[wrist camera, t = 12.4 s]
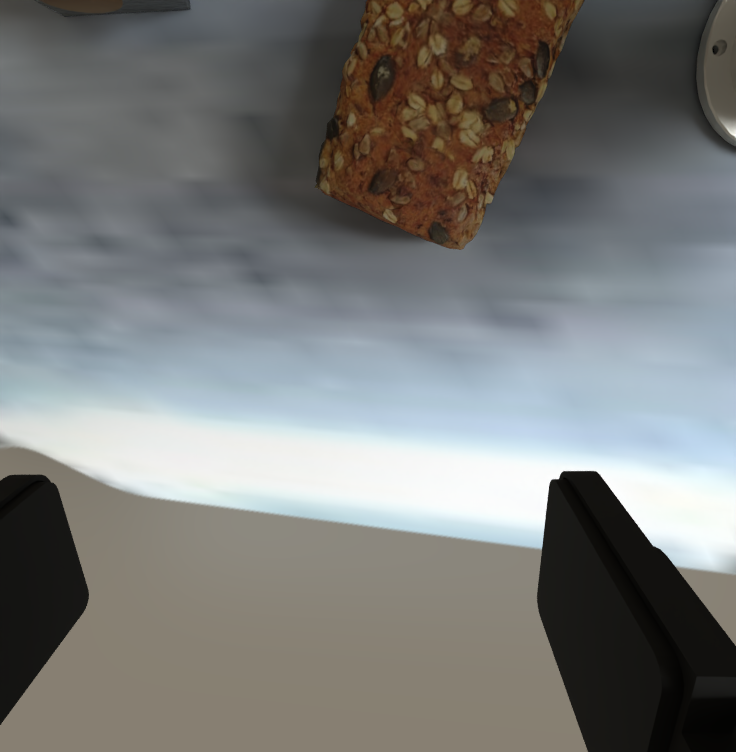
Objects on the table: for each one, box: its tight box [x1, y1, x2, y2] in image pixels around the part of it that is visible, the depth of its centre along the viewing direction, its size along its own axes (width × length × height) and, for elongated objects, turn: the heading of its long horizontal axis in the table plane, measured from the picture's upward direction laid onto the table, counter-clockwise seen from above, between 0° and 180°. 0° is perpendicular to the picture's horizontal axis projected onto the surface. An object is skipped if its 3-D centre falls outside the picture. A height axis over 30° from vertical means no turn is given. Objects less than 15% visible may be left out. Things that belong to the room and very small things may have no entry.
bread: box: [315, 0, 584, 250], centre depth 28 cm, size 19×11×10 cm, turn 157°
